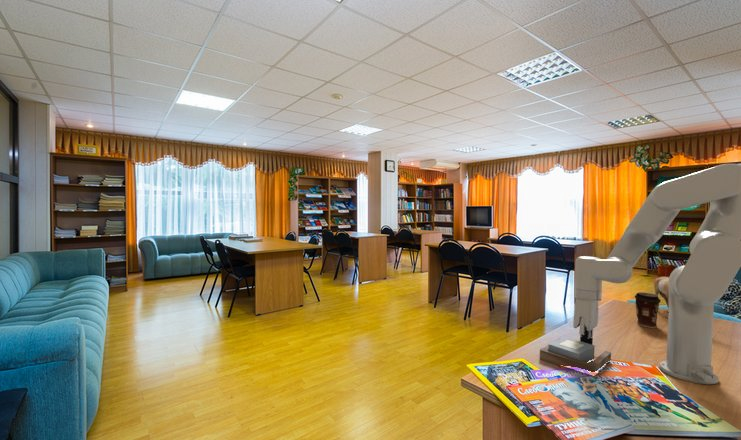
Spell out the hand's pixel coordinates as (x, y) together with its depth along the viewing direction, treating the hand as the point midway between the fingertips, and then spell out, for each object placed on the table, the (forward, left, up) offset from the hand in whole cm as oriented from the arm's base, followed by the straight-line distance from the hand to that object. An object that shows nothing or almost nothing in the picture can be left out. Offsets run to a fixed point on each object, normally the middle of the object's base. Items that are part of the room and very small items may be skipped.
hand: (586, 348), depth 114 cm
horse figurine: (+51, -59, -2) cm, 78 cm away
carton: (-7, +7, -2) cm, 10 cm away
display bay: (-7, +6, -1) cm, 9 cm away
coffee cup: (+35, -38, -1) cm, 52 cm away
